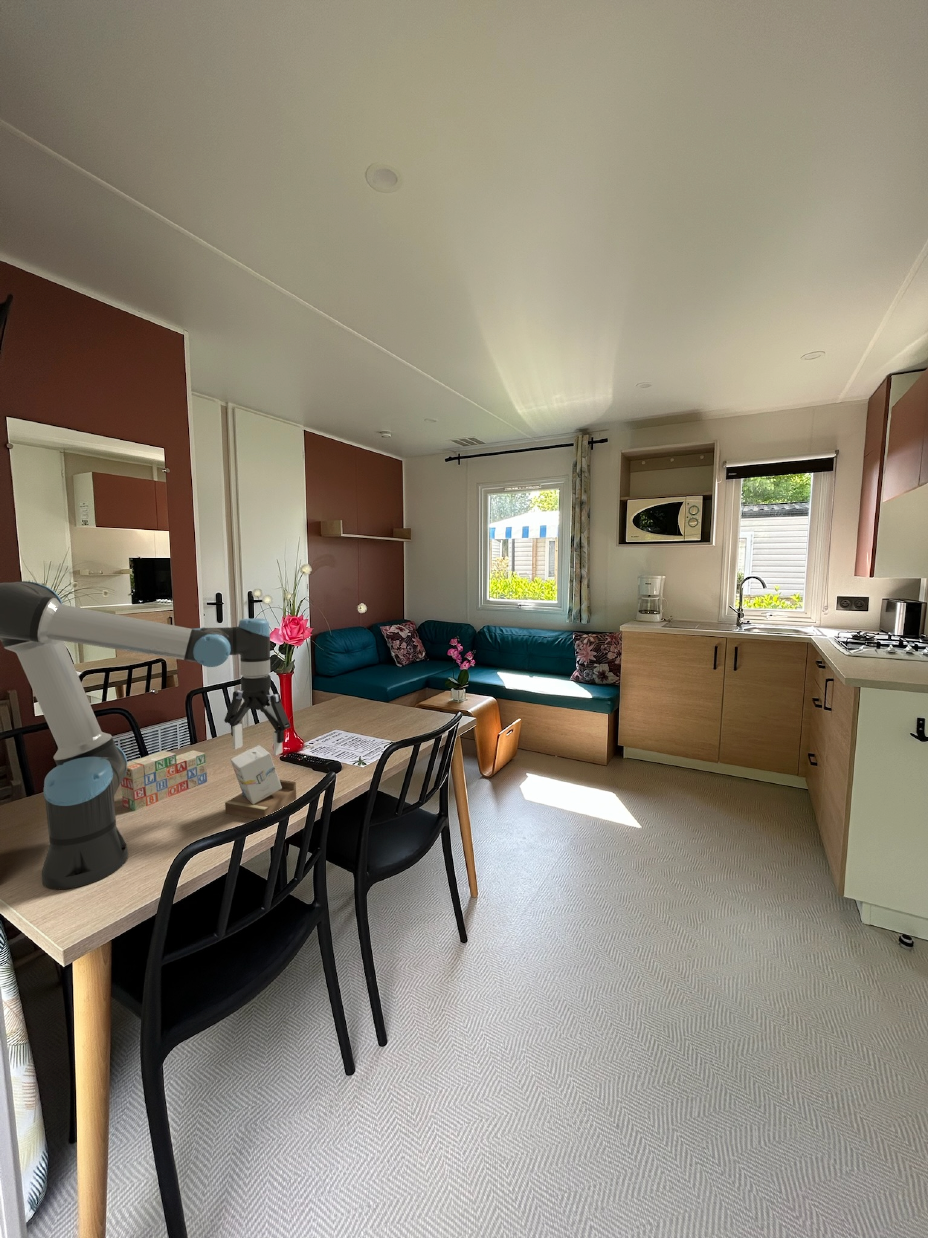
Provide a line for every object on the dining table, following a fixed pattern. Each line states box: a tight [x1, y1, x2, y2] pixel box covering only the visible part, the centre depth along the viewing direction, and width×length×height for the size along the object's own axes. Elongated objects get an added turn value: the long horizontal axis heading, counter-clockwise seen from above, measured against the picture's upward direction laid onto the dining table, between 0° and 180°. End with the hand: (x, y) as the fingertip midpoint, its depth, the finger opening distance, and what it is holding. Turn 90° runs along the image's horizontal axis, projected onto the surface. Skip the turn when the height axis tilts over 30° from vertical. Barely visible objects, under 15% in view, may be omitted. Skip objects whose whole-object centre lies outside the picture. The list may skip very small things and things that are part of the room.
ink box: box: [230, 744, 282, 804], centre depth 135 cm, size 9×8×12 cm
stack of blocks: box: [120, 749, 208, 812], centre depth 144 cm, size 21×6×12 cm, turn 152°
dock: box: [224, 779, 297, 820], centre depth 136 cm, size 13×13×5 cm
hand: (257, 751), depth 135 cm, fingers open, 13 cm apart
